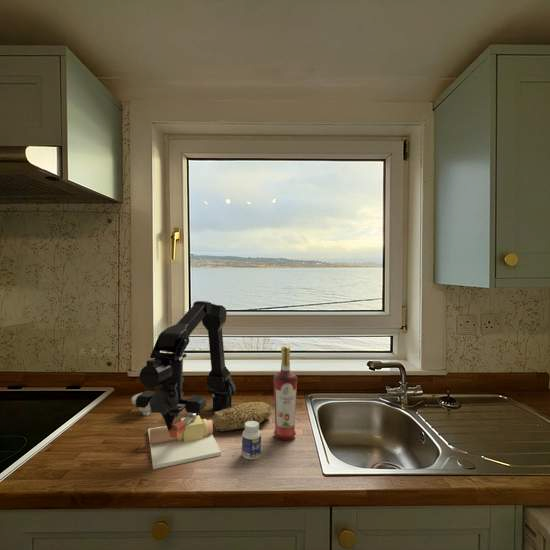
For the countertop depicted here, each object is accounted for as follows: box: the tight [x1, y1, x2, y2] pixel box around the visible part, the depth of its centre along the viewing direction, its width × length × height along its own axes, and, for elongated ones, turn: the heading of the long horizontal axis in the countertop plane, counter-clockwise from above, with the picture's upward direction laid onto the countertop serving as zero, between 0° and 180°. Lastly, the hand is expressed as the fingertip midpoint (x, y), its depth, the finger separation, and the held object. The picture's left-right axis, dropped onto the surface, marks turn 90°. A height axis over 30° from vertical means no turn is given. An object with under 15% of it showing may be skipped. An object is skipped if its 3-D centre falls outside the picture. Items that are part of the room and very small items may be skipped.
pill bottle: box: [241, 421, 262, 461], centre depth 100 cm, size 5×5×9 cm
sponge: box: [213, 401, 273, 432], centre depth 119 cm, size 13×8×20 cm
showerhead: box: [131, 392, 151, 416], centre depth 125 cm, size 9×7×10 cm
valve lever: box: [170, 412, 197, 438], centre depth 103 cm, size 13×3×2 cm, turn 168°
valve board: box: [147, 414, 222, 470], centre depth 106 cm, size 18×22×6 cm
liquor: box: [273, 345, 298, 441], centre depth 110 cm, size 7×7×28 cm
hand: (170, 431), depth 99 cm, fingers closed
